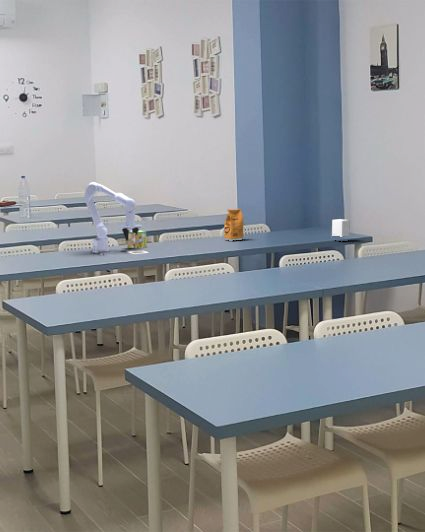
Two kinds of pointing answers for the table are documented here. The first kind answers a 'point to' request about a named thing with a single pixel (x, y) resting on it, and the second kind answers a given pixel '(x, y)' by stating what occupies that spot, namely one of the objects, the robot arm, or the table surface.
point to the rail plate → (129, 249)
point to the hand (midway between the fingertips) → (130, 240)
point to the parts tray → (137, 251)
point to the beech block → (131, 238)
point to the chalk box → (139, 240)
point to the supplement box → (340, 227)
